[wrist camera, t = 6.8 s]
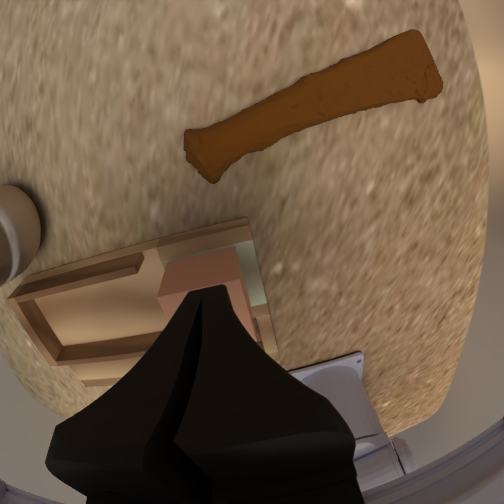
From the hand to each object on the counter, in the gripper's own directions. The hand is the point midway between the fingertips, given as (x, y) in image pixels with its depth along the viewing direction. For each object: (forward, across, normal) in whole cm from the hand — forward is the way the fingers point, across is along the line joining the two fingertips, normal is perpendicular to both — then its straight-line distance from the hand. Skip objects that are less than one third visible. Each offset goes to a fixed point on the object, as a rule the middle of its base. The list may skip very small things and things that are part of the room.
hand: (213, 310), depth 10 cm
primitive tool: (+11, -9, -7) cm, 16 cm away
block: (+8, +1, +4) cm, 9 cm away
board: (+10, +8, +6) cm, 14 cm away
